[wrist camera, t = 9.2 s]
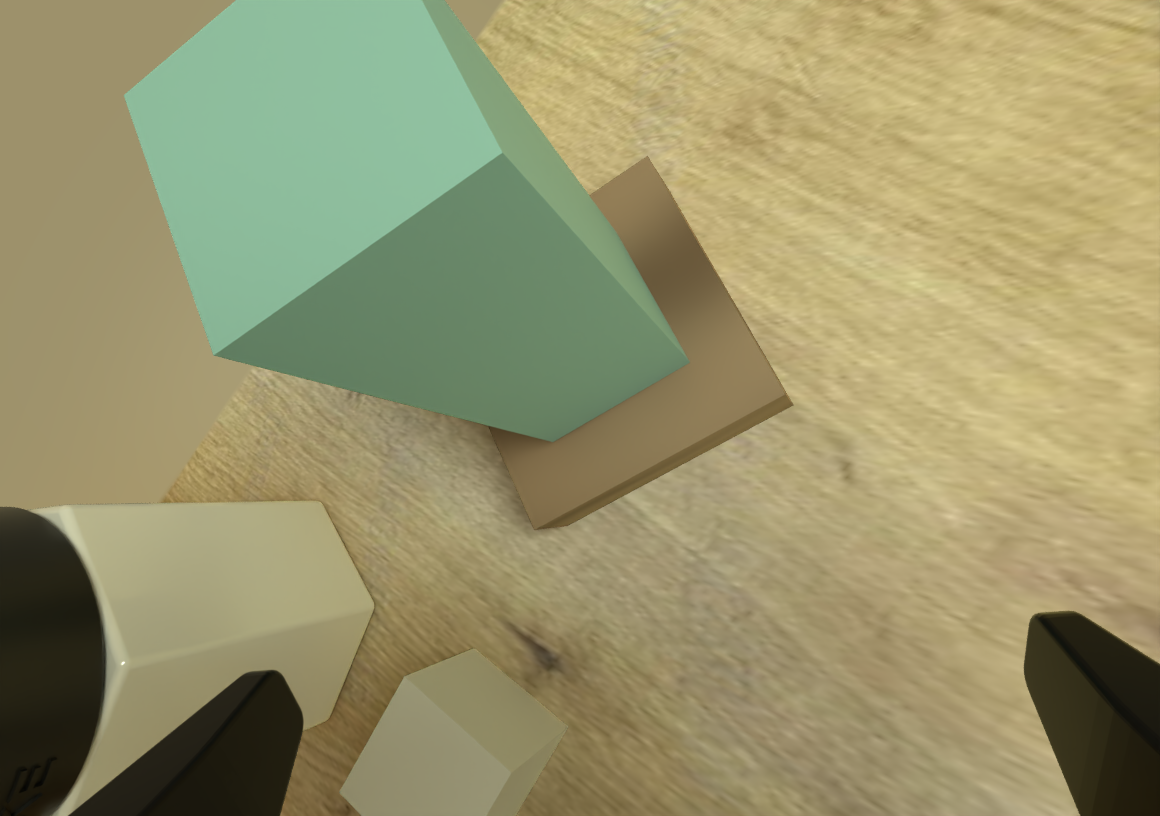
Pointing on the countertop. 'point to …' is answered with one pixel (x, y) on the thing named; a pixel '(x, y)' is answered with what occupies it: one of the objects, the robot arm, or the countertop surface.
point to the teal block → (391, 218)
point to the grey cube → (454, 744)
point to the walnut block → (671, 405)
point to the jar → (157, 629)
